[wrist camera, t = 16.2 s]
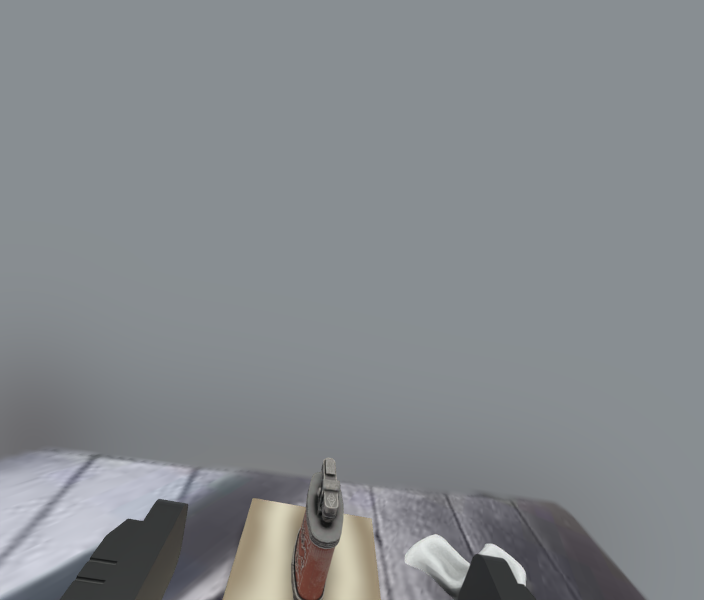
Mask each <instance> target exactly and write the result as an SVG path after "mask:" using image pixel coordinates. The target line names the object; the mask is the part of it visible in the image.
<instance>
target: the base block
mask: <svg viewBox="0 0 704 600" xmlns="http://www.w3.org/2000/svg"><path fill="white" fill-rule="evenodd" d="M305 510H306V507H302V506H296V505H290V504H284V503H279V502H273V501H267V500H261V499H255V498H253V500H252V503H251V506H250V510H249V513H248V516H247V520H246V523H245V526H244V530H243V533H242V536H241V540H240V543H239V546H238V550H237V553H236V556H235V560H234V563H233V566H232V570H231V573H230V576H229V580H228V583H227V586H226V590H225V593H224V596H223V600H293V594H292V585H291V562H292V555H293V549H294V545H295V541H296V538H297V534H298V531H299V529H300V527H301V526H302V522H303V518H304V514H305ZM323 600H381V598H380V589H379V580H378V571H377V562H376V553H375V544H374V536H373V527H372V519H371V518H365V517H359V516H354V515H348V514H344V519H343V526H342V533H341V537H340V540H339V543H338V545H337V546H335V549H334V553H333V556H332V560H331V564H330V567H329V571H328V574H327V580H326V586H325V592H324V596H323Z"/></svg>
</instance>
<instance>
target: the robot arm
mask: <svg viewBox="0 0 704 600" xmlns="http://www.w3.org/2000/svg"><path fill="white" fill-rule="evenodd" d="M187 510H188V504H186V503H180V502H174V501H168V500H162V499H158V500H157V501H156V502H155V504H154V505H153V507H152V508H151V510H150V511H149V513H148V514H147V516H146V518H145V519H144V521H139V520H133V519H127V520H126V521H124V522H123V523H122V524H120V525H119V526H118V527H117V528H115V529H114V530H113V531H111V532H110V533H109V534H108V535H106V537H105V538H104V539H103V541H102V542H101V543H100V545H99V546H98V548H97V549H96V550H95V552H94V553H93V555H92V556H91V557H90V560H89V562H87V563H86V564H85V566H84V567H83V568H82V570H81V571H80V572H79V574H78V575H77V578H76V580H75V581H73V582H72V584H71V585H70V586H69V588H68V589H67V590H66V592H65V593H64V595H63V596H62V597H61V599H60V600H162V598H163V595H164V593H165V591H166V589H167V587H168V584H169V582H170V580H171V578H172V575H173V573H174V570H175V568H176V565H177V562H178V558H179V555H180V551H181V546H182V540H183V534H184V528H185V522H186V516H187ZM458 600H536V599H535V597H534V596H533V595H532V594H531V593H530V591H529V590H528V589H527V588H526V586H525V585H524V584H519V583H518V582H517V580H516V578H515V576H514V574H513V572H512V570H511V568H510V566H509V564H508V563H507V561H506V560H505V559H503V558H499V557H493V556H487V555H481V554H476V555H474V557H473V559H472V561H471V564H470V566H469V569H468V572H467V574H466V577H465V579H464V582H463V584H462V587H461V590H460V592H459V595H458Z"/></svg>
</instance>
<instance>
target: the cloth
mask: <svg viewBox="0 0 704 600" xmlns="http://www.w3.org/2000/svg"><path fill="white" fill-rule="evenodd" d="M479 554H481V555H487V556H493V557H499V558H503V559H505V560H506V561H507V563H508V564H509V566H510V568H511V570H512V572H513V574H514V576H515V578H516V580H517V582H518V583H519V584H524V585H525V586H526V573H525V571H524V569H523V567H522V566H521V565H520V564H519V563H518V562H517V561H516V560H515V559H513V558H512V557H511V556H510V555H509V554H507V553H506V552H505V551H503V550H502V549H500V548H499V547H498V546H496V545H494V544H485V547H484V549H483V550H482V551H481V552H480V553H479ZM405 563H406V564H408V565H409V566H412V567H415V568H417V569H420V570H422V571H424V572H425V573H427V574H428V575H429V576H430V577H432V578H433V579H434V580H435V581H436V582H437V583H438V584H439V585H440V586H441V587H442V588H443V589H444V590H445V591H446V592H447V593H448V594H449V595H450V596H451V597H452V598H453V599H454V600H458V595H459V592H460V590H461V587H462V584H463V582H464V579H465V577H466V574H467V572H468V569H469V566H470V564H469V563H468V562H467V561H466V560H465V559H464V558H462V557H461V556H460V555H459V554H458V553H457V552H456V551H455V550H454V549H453V548H452V547H451V546H450V545H449V544H448V543H447V541H446V540H445V539H444V538H443V537H441V536H439V535H437V534H435V535H431V536H429V537H427V538H424V539H422V540H420V541H419V542H418V543H416V544H415V545H413V546H412V547H411V549H410V550H409V551H408V552H407V553H406V555H405Z"/></svg>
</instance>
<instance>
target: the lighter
mask: <svg viewBox="0 0 704 600" xmlns="http://www.w3.org/2000/svg"><path fill="white" fill-rule="evenodd" d="M343 519H344V511H343V499H342V494H341V490H340V481H338V480H337V478H336V465H335V461H334V459H332V458H326V459H324V461H323V465H322V471H321V472H317V473H315V474H314V475H313V476H312V479H311V483H310V486H309V490H308V494H307V502H306V510H305V514H304V518H303V522H302V526H301V527H300V529H299V531H298V534H297V538H296V541H295V545H294V549H293V555H292V562H291V585H292V594H293V600H323V596H324V592H325V586H326V580H327V574H328V571H329V567H330V564H331V560H332V556H333V553H334V549H335V546H337V545H338V543H339V540H340V537H341V533H342V526H343Z"/></svg>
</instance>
